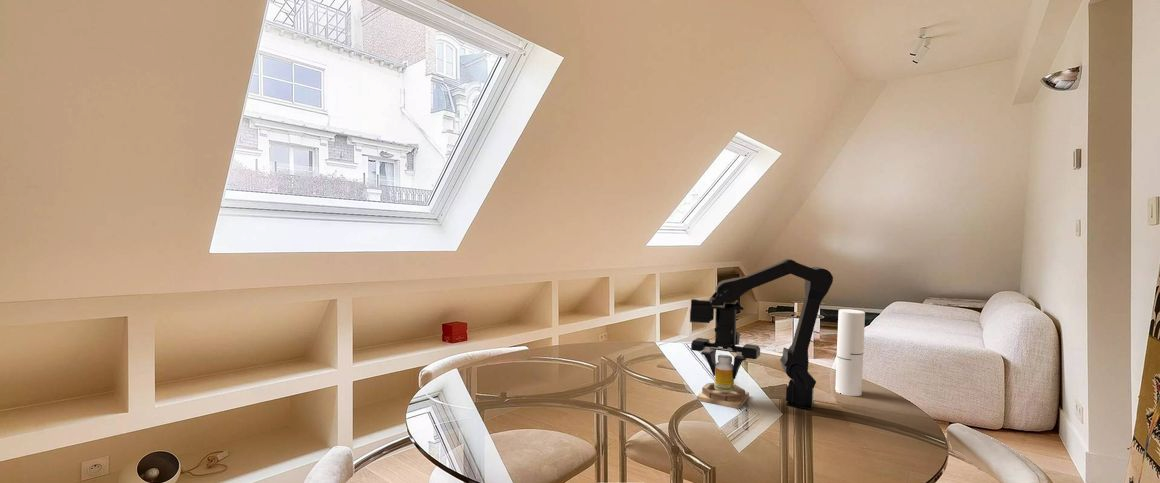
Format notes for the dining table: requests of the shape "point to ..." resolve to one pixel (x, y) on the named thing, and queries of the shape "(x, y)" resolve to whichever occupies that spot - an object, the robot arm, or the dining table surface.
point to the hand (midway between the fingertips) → (724, 377)
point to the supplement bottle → (724, 374)
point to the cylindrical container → (850, 352)
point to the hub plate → (723, 396)
